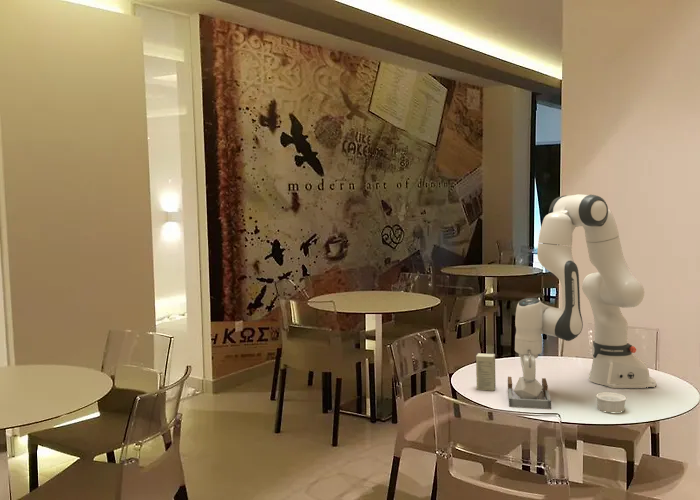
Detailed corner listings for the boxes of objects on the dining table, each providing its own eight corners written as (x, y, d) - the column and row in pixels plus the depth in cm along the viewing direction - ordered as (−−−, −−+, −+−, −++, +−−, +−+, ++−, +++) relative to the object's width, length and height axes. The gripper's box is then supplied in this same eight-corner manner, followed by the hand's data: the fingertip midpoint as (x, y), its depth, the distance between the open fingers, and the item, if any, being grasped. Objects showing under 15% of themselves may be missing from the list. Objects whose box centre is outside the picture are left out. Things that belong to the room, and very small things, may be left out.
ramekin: (594, 412, 210) (595, 398, 210) (596, 403, 218) (597, 390, 218) (625, 415, 206) (625, 402, 206) (626, 407, 215) (626, 393, 214)
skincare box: (495, 387, 236) (496, 353, 235) (494, 391, 232) (494, 356, 230) (477, 386, 238) (477, 352, 237) (475, 389, 234) (475, 355, 233)
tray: (547, 397, 224) (548, 390, 224) (551, 408, 213) (551, 401, 213) (508, 395, 227) (508, 388, 227) (509, 406, 216) (509, 398, 216)
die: (541, 407, 217) (550, 380, 220) (520, 396, 215) (529, 369, 219) (527, 408, 224) (535, 381, 228) (506, 397, 223) (515, 370, 226)
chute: (545, 389, 233) (545, 378, 233) (547, 397, 225) (547, 385, 224) (507, 387, 236) (507, 376, 235) (508, 395, 227) (508, 383, 227)
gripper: (540, 354, 214) (539, 396, 216) (536, 340, 234) (535, 378, 236) (520, 354, 216) (519, 395, 217) (517, 339, 235) (517, 377, 237)
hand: (527, 386), depth 226 cm, fingers closed
